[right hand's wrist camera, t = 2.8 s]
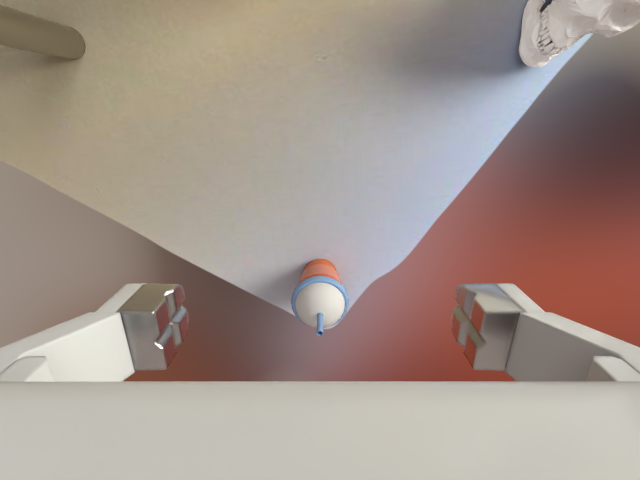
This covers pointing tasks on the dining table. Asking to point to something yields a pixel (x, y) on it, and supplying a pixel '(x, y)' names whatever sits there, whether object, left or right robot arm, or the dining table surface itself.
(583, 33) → the skull
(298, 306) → the cup with straw
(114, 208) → the dining table surface
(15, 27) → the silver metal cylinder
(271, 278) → the dining table surface
